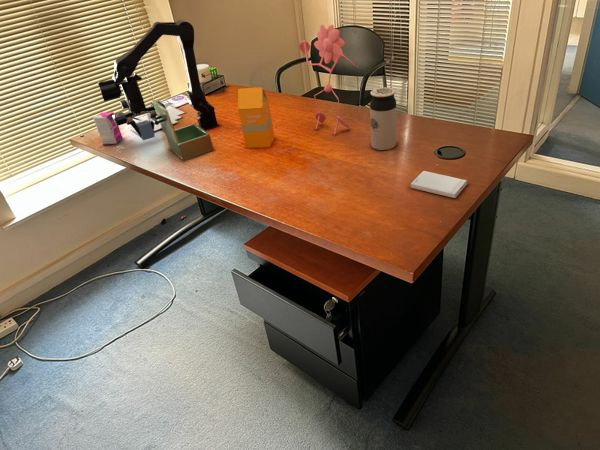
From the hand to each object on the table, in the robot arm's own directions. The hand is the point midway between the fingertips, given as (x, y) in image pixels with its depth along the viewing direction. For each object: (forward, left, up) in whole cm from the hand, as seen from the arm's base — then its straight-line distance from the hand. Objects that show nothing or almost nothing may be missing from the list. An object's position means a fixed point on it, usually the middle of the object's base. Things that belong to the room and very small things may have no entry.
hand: (146, 134), depth 169 cm
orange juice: (-31, +34, -4) cm, 46 cm away
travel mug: (-59, +68, -4) cm, 90 cm away
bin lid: (-4, +19, +9) cm, 21 cm away
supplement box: (+11, -14, -4) cm, 18 cm away
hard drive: (-52, +98, -4) cm, 111 cm away
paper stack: (-10, -22, -4) cm, 24 cm away
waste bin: (-10, +19, -4) cm, 22 cm away
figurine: (-59, +43, -4) cm, 73 cm away
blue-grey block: (0, 0, -1) cm, 1 cm away
